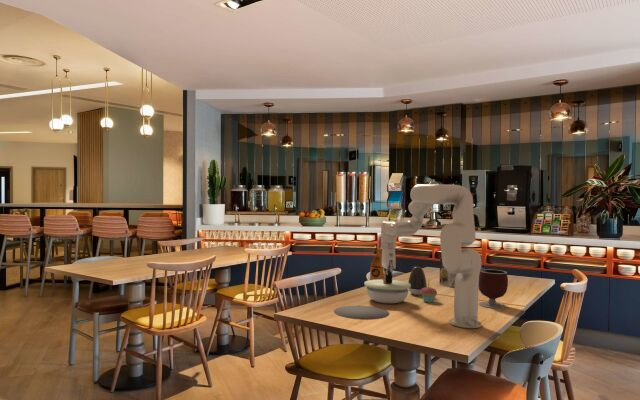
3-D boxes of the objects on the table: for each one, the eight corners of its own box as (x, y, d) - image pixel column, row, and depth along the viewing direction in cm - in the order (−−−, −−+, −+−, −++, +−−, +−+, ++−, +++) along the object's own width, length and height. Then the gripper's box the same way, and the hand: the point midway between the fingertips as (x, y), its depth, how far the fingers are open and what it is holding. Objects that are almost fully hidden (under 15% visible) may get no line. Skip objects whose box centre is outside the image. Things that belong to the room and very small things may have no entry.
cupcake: (437, 303, 231) (437, 279, 231) (419, 302, 232) (420, 278, 232) (436, 299, 239) (437, 276, 239) (419, 298, 241) (420, 275, 241)
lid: (417, 289, 222) (417, 275, 222) (370, 290, 219) (370, 275, 219) (402, 281, 245) (402, 268, 245) (359, 281, 242) (360, 268, 242)
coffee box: (438, 284, 283) (439, 258, 283) (447, 283, 286) (447, 257, 285) (448, 287, 275) (449, 260, 274) (457, 286, 277) (458, 259, 277)
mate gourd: (505, 303, 234) (506, 264, 233) (509, 310, 220) (510, 268, 220) (473, 301, 238) (474, 262, 238) (474, 307, 224) (475, 266, 224)
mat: (396, 320, 197) (396, 319, 197) (338, 321, 194) (338, 319, 194) (381, 306, 222) (381, 305, 222) (329, 307, 218) (329, 305, 218)
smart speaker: (419, 291, 259) (420, 264, 259) (430, 295, 250) (431, 267, 249) (403, 292, 256) (404, 265, 255) (414, 296, 246) (414, 268, 246)
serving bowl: (375, 308, 219) (375, 293, 219) (360, 298, 239) (360, 285, 239) (415, 306, 225) (415, 292, 225) (397, 296, 245) (397, 283, 245)
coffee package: (366, 285, 275) (367, 248, 275) (374, 281, 286) (375, 246, 286) (382, 287, 271) (383, 249, 270) (389, 283, 282) (390, 247, 281)
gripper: (400, 247, 224) (399, 285, 224) (390, 244, 240) (390, 279, 241) (385, 247, 223) (384, 285, 223) (376, 243, 239) (376, 279, 240)
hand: (387, 281), depth 232 cm, fingers open, 4 cm apart
